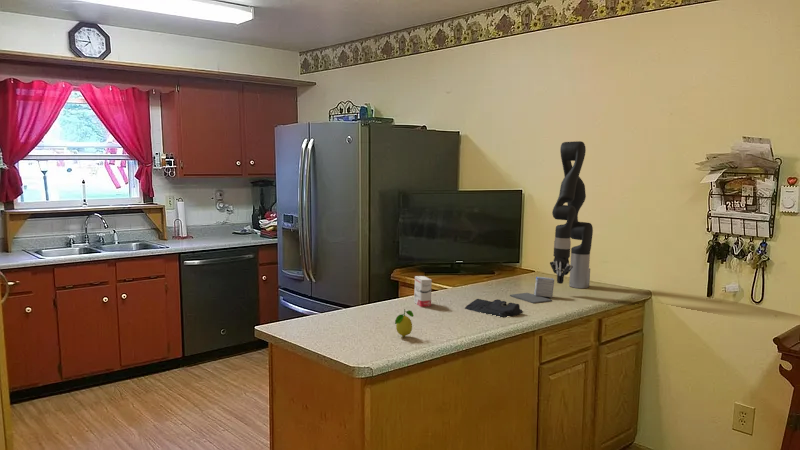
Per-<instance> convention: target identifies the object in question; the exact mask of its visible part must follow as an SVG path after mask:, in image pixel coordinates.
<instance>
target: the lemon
mask: <svg viewBox="0 0 800 450" xmlns="http://www.w3.org/2000/svg"><path fill="white" fill-rule="evenodd" d="M403 311H404V313H401V314H398V315H397V317H396V318H395V321H394V324H395V325H396V332H397V333H398V334H399V335H401V336H402V338H404V337H406V336H408V335H410V334H411V333H412V330H413V323H412V320H411V319H410V317H414V313H413V312H412V310H407V311H406V309H403ZM406 314H407V315H408V316H407V315H406Z"/></svg>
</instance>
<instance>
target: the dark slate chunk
mask: <svg viewBox="0 0 800 450" xmlns="http://www.w3.org/2000/svg"><path fill="white" fill-rule="evenodd" d="M464 309H465V310H469V311H471V312H477V313H480V312H481V313H480V314H484V313H486V314H485V315H488V314H492V315H491V316H493V315H496V316H495V317H497V316H500V317H499V318H501V317H503V318H506V317H507V316H511V317H516V316H519V315H520V314H521V313H522V312H524V311H523V310H522V309H521V307H520V304H519V303H514V302H508V303H507V301H505V300H501V299H494V300H493V301H490V300H487V299H486V300H485V299H481V298H476V299H475V300H473V301H471V302H470V303H469V304H466V306H465V307H464ZM515 315H516V316H515Z"/></svg>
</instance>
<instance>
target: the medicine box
mask: <svg viewBox="0 0 800 450" xmlns="http://www.w3.org/2000/svg"><path fill="white" fill-rule="evenodd" d="M534 282H535V285H534V291H533V292H534V293H533V294H534V295H535V296H541V297H544V298H553V296H554V286H555V279H554V278H553V277H544V276H536V277H535V281H534Z"/></svg>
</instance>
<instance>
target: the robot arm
mask: <svg viewBox="0 0 800 450" xmlns="http://www.w3.org/2000/svg"><path fill="white" fill-rule="evenodd" d="M586 150H587V149H586V144H585V142H583V141H580V140H579V141H578V140H575V141H564V142H562V143H561V145H560V159H561V162H562V163H561V164H562V169H563V174H564V177H563V180H562V181H561V183H560V188H559V195H558V197H557V200H556V201H555V204H554V206H553V209H552V213H551V214H552V217H553V218H554V219H555V220H558V221H559V220H560V221H566V222H565V223H564V224H558V225H556V226H555V232H554V234H555V235H554V241H553V257H554V258H553V261H550V262H549V265H550V267H551V269H552V271H553V273H554V274H556V282H557V284H564V278H565V277H564V276H568V274H569V283H568V285H569V287H570V288H576V289H587V288H589V287H590V284H591V283H590V282H591V281H590V280H591V268H590V259H591V249H592V241H593V233H594V230H593V229H594V227H593V224H592V223H591V222H588V221H587V222H583V221H579V217H578V215H579V212H580V210H581V208H582V207H583V205H584V203H585V201H586V198H587V195H586V185H585V183H584V181H583V179H582V178H581V177H580V173H581V171H582V167H583V164H584V160H585V156H586ZM572 162H573V164H572ZM565 203H567V205H566V204H565ZM571 240H576V241H581V243H580V244H579V245H576V246H572V247H571V244H572V243H571ZM569 258H570V260H569Z"/></svg>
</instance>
